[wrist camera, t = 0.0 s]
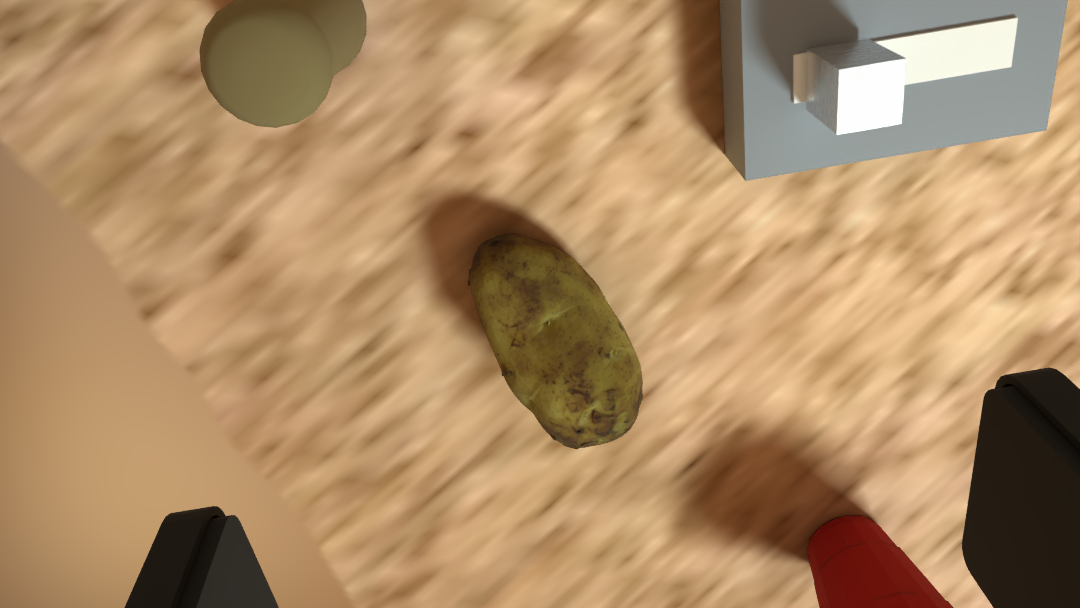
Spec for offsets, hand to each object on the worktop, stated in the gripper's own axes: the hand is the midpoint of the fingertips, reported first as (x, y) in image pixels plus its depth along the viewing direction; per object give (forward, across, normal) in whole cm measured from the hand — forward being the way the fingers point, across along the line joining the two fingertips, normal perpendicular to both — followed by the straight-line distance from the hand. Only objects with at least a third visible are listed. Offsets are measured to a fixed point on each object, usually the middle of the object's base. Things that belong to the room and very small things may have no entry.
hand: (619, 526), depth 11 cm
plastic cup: (+37, -19, +43) cm, 60 cm away
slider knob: (+32, -16, +5) cm, 36 cm away
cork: (+37, +10, -1) cm, 38 cm away
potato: (+37, 0, +18) cm, 41 cm away
